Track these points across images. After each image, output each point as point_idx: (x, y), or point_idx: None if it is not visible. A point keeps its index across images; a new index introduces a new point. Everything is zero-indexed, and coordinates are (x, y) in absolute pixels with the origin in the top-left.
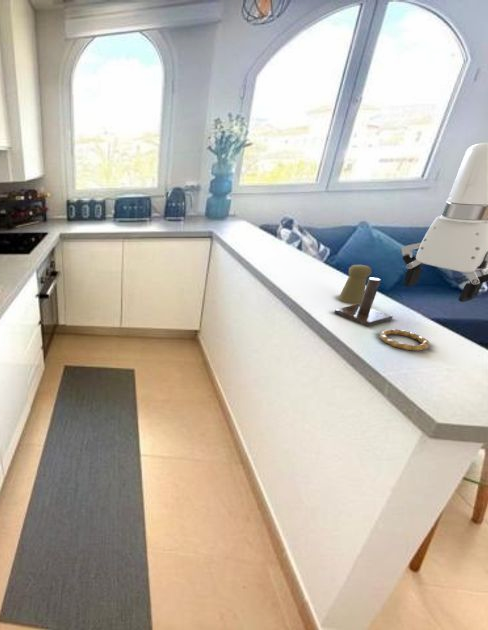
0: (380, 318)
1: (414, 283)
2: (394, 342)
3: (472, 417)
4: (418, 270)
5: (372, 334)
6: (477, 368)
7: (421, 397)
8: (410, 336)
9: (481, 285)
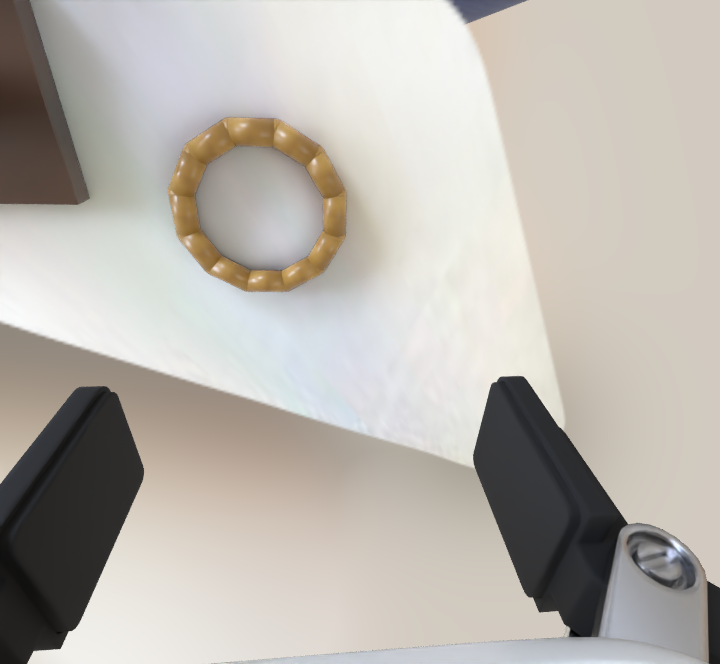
0: (33, 89)
1: (118, 428)
2: (276, 289)
3: None
4: (47, 582)
5: (170, 254)
6: (503, 184)
7: (470, 448)
8: (245, 145)
9: (620, 519)
